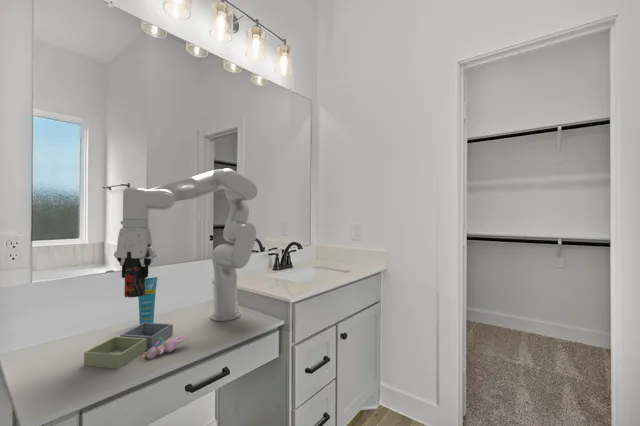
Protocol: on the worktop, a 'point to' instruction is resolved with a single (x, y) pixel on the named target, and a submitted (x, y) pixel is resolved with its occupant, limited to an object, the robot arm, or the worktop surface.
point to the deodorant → (133, 277)
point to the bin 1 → (103, 358)
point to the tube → (148, 301)
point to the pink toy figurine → (168, 347)
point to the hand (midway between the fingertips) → (135, 277)
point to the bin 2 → (150, 332)
